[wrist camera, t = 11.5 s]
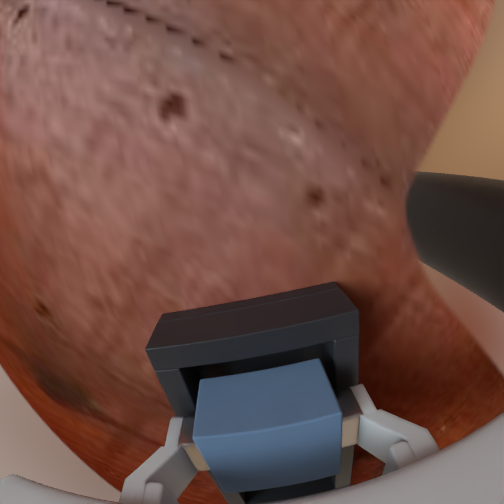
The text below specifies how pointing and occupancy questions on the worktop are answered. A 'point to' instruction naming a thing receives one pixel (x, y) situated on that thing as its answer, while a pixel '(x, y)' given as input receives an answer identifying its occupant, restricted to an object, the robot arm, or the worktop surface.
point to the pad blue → (269, 427)
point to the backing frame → (260, 357)
